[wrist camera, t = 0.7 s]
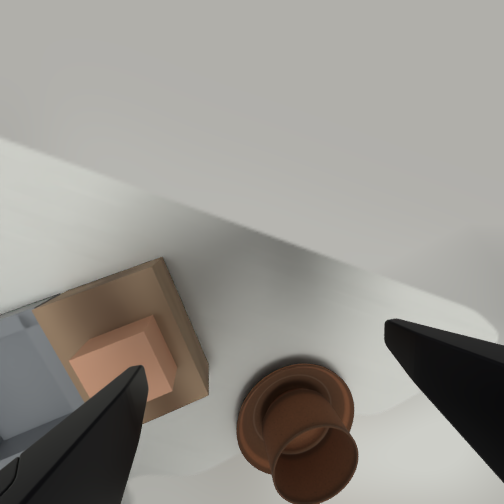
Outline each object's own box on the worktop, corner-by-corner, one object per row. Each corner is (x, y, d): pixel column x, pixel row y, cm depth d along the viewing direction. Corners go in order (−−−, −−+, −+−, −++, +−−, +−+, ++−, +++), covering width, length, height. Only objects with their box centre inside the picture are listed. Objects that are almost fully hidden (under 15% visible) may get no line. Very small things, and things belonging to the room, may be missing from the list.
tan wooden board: (124, 399, 22) (106, 440, 18) (66, 291, 20) (31, 310, 16) (208, 364, 23) (208, 395, 19) (162, 256, 21) (151, 266, 17)
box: (2, 451, 21) (-32, 490, 18) (-74, 341, 18) (-128, 365, 15) (118, 402, 22) (105, 431, 19) (60, 293, 20) (33, 307, 17)
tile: (117, 392, 18) (102, 420, 15) (89, 339, 17) (68, 360, 14) (177, 367, 18) (172, 390, 16) (152, 314, 17) (143, 331, 15)
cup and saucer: (359, 416, 27) (402, 473, 21) (268, 477, 26) (285, 555, 20) (316, 332, 25) (351, 371, 19) (212, 396, 24) (213, 458, 18)
